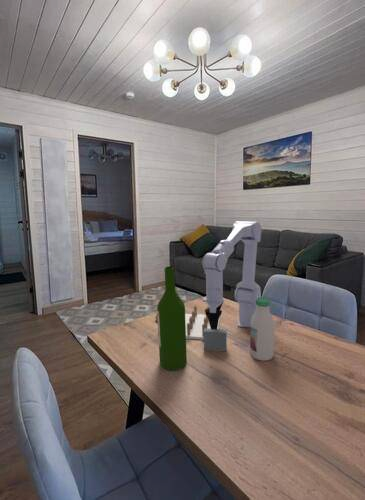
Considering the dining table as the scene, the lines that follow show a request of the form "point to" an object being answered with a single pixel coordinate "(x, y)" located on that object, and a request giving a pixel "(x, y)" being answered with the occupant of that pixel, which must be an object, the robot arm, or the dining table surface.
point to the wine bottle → (171, 326)
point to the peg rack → (196, 324)
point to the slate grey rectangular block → (215, 339)
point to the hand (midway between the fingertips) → (214, 323)
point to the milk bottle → (262, 331)
